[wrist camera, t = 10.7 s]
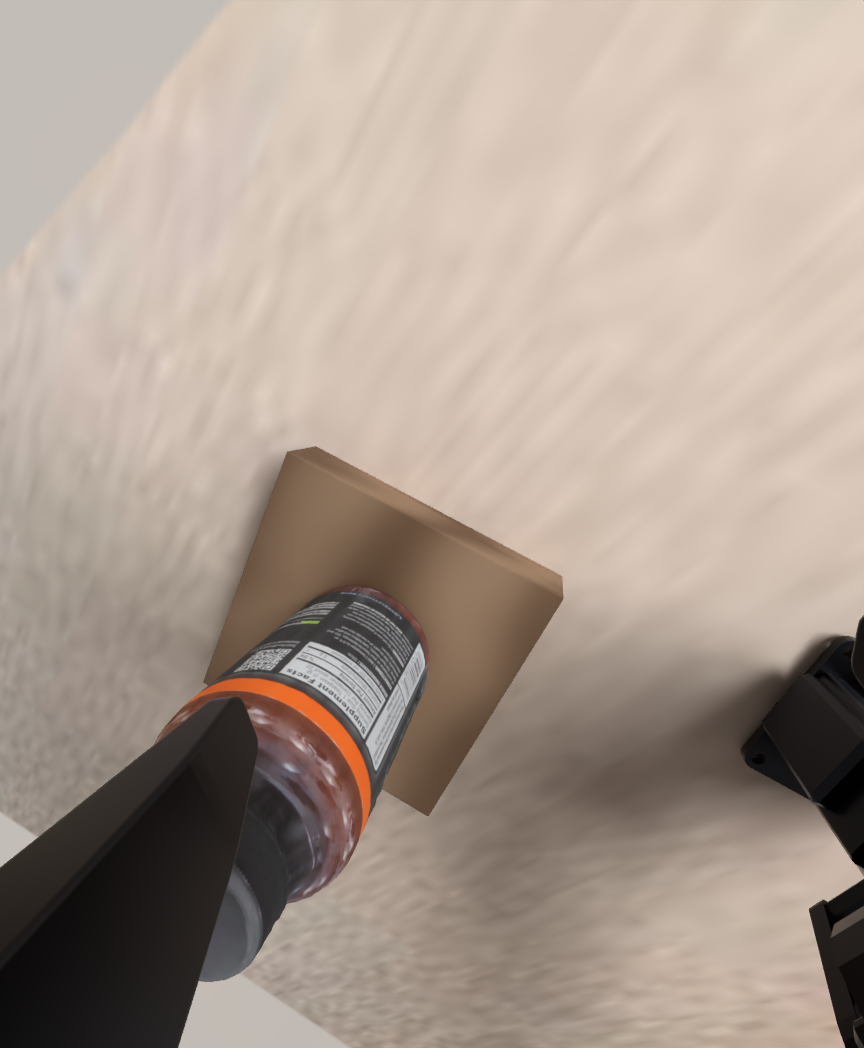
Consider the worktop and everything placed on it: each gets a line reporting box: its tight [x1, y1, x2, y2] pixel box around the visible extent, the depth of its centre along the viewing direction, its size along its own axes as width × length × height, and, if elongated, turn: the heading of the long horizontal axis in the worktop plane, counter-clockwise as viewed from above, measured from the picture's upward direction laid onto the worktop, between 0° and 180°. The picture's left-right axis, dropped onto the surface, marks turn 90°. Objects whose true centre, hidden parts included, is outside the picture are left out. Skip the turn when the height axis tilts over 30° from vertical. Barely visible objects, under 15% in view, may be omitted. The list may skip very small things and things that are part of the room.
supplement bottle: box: [154, 586, 430, 982], centre depth 15 cm, size 6×6×11 cm
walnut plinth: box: [204, 447, 563, 816], centre depth 22 cm, size 12×12×2 cm
